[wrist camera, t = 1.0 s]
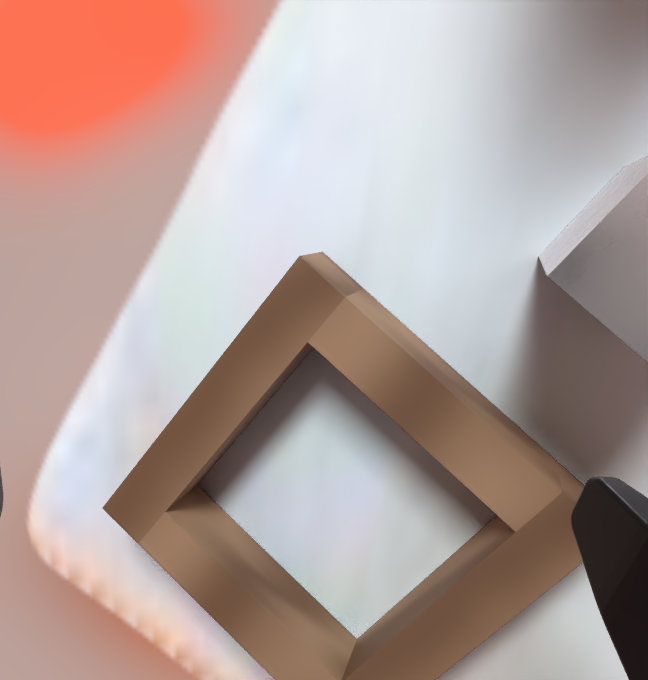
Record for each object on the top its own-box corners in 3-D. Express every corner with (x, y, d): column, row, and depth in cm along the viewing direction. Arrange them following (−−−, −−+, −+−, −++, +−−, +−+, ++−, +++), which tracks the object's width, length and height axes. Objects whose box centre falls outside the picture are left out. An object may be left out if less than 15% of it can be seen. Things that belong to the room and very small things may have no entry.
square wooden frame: (602, 502, 21) (613, 538, 19) (362, 701, 26) (346, 750, 23) (322, 251, 22) (299, 256, 20) (138, 482, 27) (102, 508, 24)
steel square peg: (716, 243, 19) (821, 259, 12) (624, 329, 20) (674, 386, 13) (622, 166, 19) (677, 143, 13) (538, 256, 20) (547, 276, 14)
